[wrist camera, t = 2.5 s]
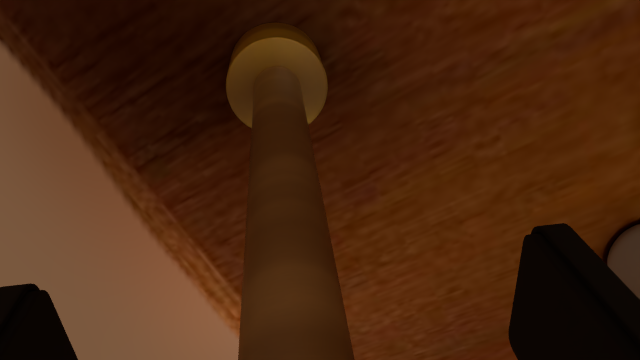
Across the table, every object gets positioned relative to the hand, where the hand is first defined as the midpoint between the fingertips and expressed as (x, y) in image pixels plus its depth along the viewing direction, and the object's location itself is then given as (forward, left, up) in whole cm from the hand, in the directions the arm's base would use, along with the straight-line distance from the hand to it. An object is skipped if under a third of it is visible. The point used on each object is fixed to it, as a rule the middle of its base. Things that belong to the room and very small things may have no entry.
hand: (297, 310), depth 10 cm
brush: (0, 0, -16) cm, 16 cm away
